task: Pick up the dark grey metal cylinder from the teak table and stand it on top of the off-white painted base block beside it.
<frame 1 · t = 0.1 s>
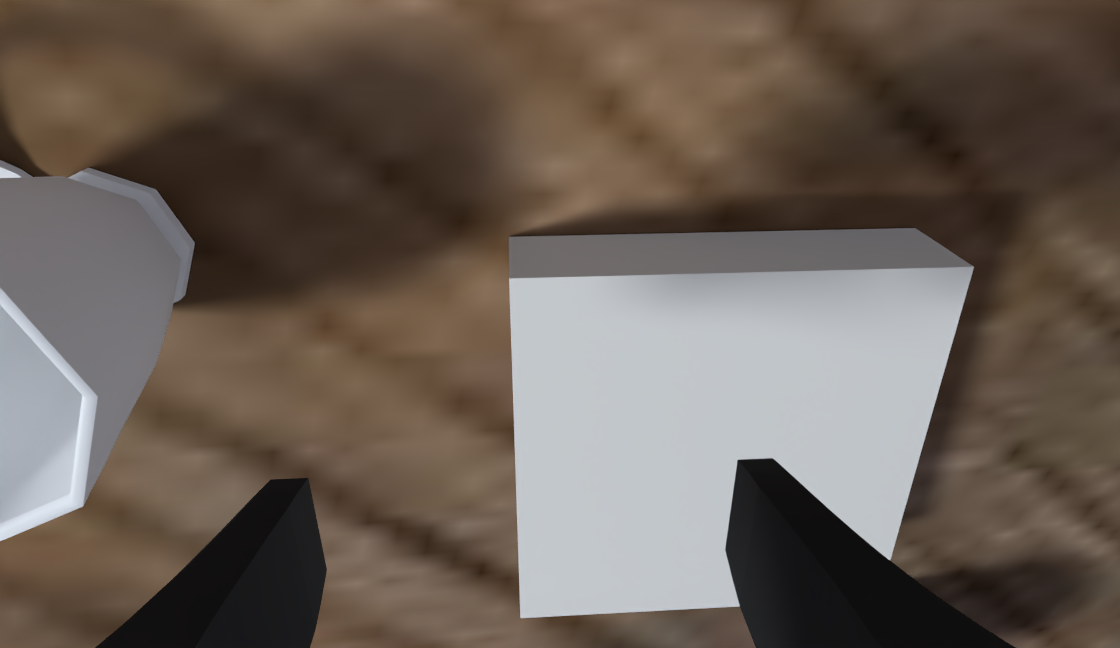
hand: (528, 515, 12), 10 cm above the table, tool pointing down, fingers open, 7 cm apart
cup: (65, 208, 19), on the table
base block: (697, 405, 24), on the table
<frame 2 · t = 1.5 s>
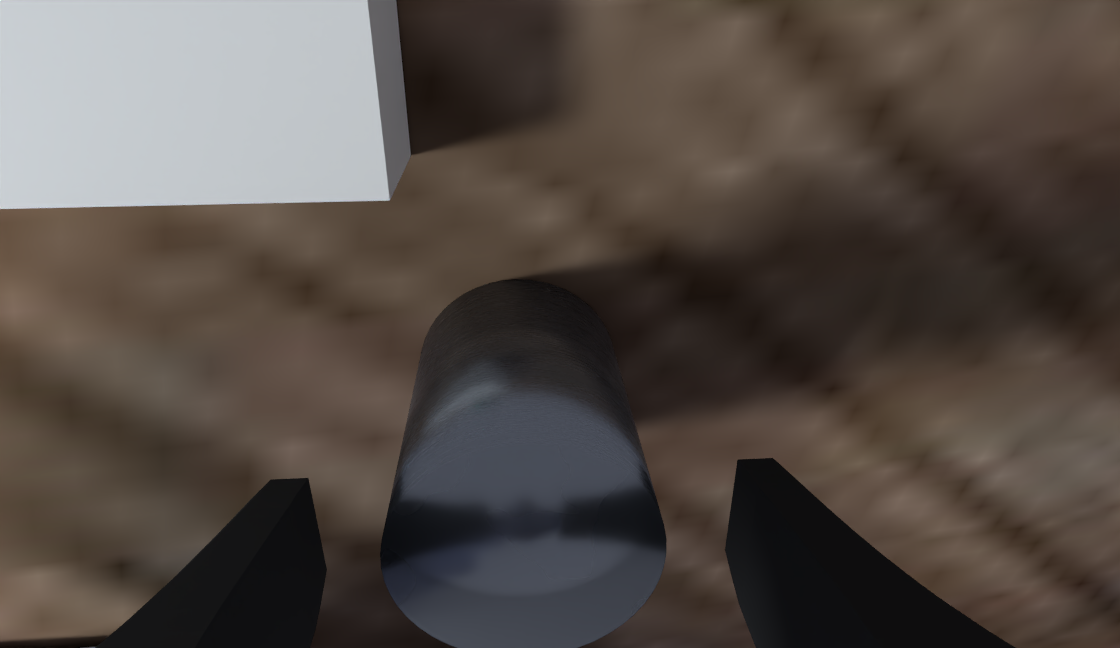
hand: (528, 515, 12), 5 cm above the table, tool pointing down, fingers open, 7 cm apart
grey cylinder: (518, 368, 17), on the table
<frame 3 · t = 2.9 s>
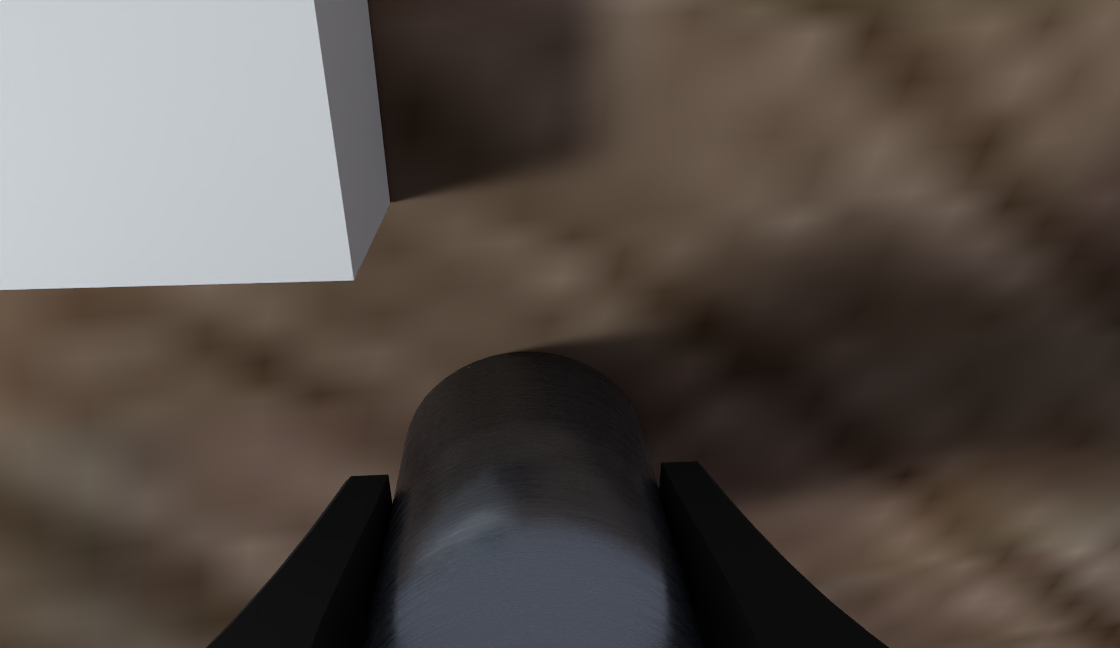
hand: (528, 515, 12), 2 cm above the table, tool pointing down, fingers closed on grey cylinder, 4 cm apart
grey cylinder: (525, 455, 14), on the table, touching gripper
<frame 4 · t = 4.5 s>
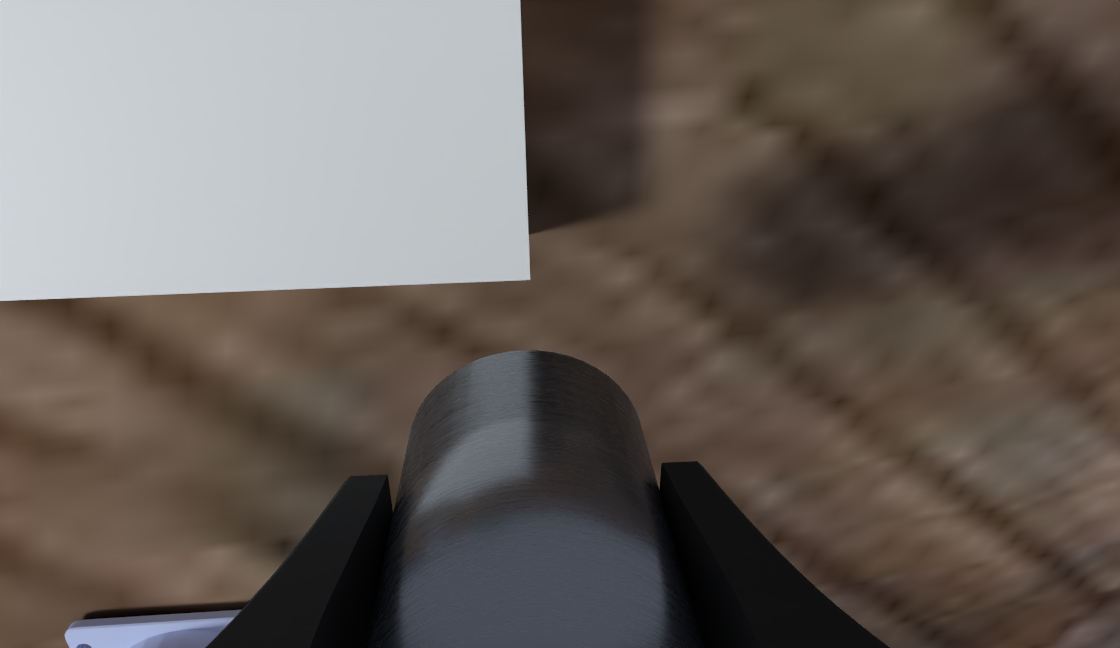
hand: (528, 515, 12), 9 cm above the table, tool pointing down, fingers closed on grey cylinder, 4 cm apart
grey cylinder: (526, 452, 14), point 7 cm above the table, touching gripper
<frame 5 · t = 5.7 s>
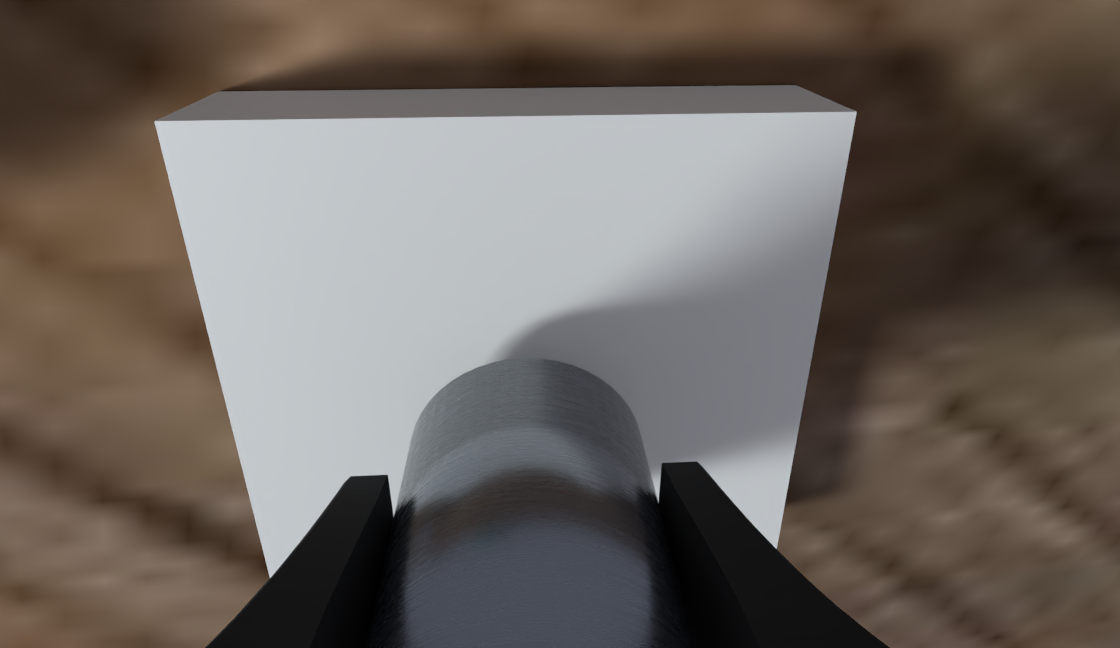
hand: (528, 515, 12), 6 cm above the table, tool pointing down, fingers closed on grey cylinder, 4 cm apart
grey cylinder: (527, 458, 14), point 4 cm above the table, touching gripper
base block: (521, 341, 18), on the table
when the fingers open (6 cm above the table, at t = 6.4 s): grey cylinder drops 1 cm, resting on base block.
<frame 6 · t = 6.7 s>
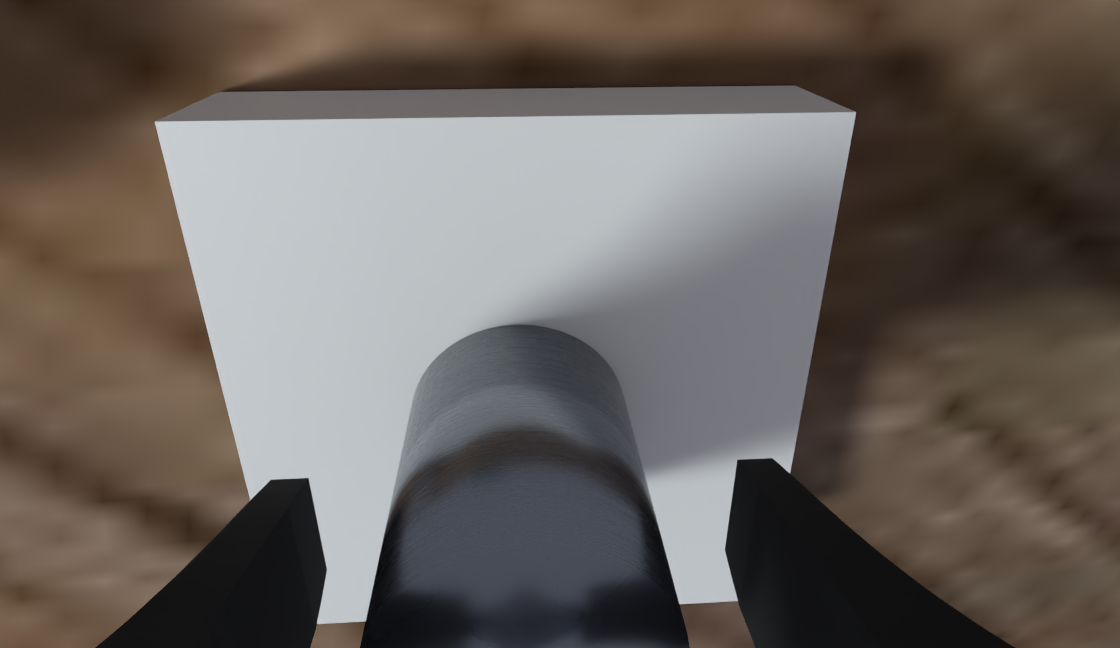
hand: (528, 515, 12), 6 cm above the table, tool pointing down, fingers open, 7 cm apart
grey cylinder: (519, 419, 15), point 3 cm above the table, touching base block
base block: (521, 341, 18), on the table
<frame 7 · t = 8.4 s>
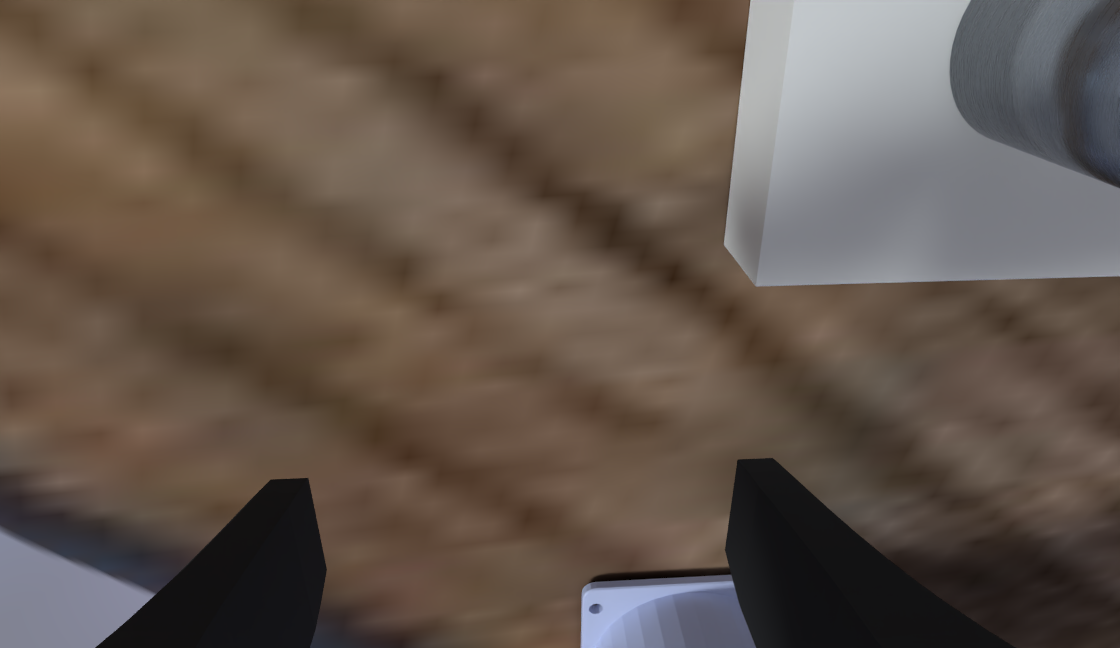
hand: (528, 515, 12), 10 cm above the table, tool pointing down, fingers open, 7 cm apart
grey cylinder: (1049, 42, 16), point 3 cm above the table, touching base block
base block: (976, 20, 18), on the table
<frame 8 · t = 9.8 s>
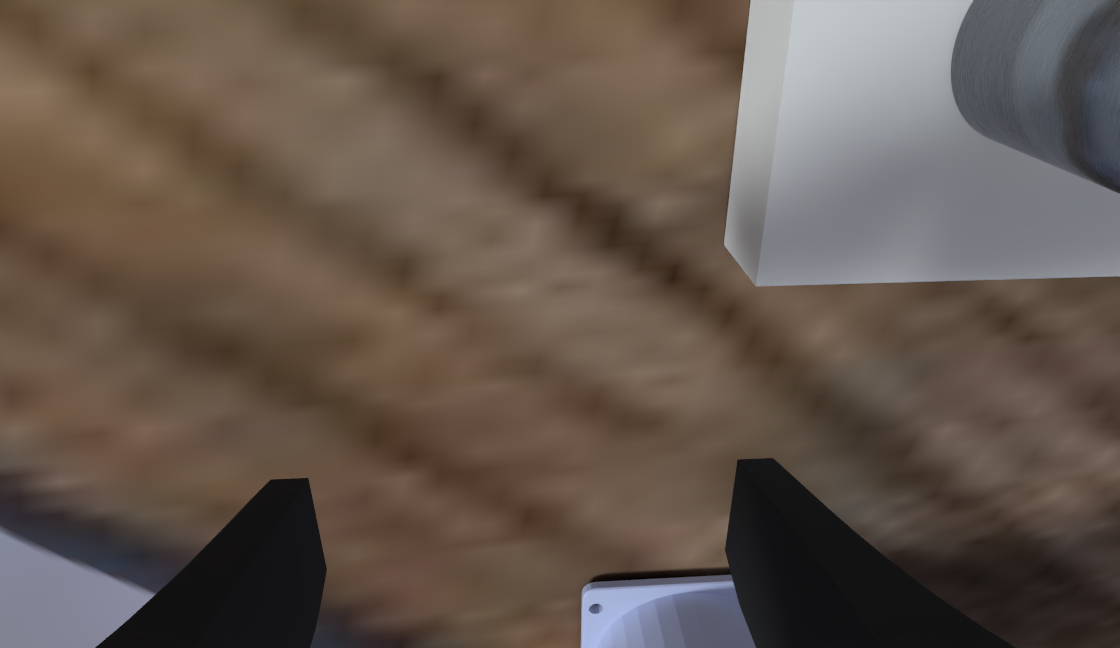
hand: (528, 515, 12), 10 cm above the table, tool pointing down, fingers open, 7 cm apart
grey cylinder: (1051, 42, 16), point 3 cm above the table, touching base block
base block: (976, 20, 18), on the table
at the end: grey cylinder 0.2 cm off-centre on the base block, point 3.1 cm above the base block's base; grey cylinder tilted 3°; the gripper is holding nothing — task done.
